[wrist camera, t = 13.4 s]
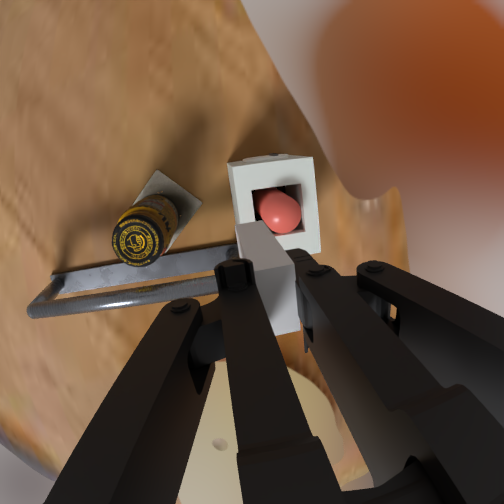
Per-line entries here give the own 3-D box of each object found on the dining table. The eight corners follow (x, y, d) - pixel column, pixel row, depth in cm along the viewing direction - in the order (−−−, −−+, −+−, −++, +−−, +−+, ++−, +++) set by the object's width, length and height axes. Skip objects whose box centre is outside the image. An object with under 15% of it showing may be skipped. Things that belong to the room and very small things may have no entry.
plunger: (250, 187, 38) (261, 198, 30) (279, 183, 39) (299, 193, 30) (254, 216, 40) (266, 235, 31) (282, 212, 40) (302, 230, 31)
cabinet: (226, 158, 40) (231, 160, 30) (288, 150, 40) (312, 151, 31) (238, 238, 43) (246, 265, 34) (297, 229, 44) (320, 252, 34)
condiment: (121, 222, 40) (91, 249, 29) (157, 169, 39) (136, 177, 28) (165, 253, 42) (150, 291, 31) (202, 202, 41) (200, 223, 30)
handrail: (57, 292, 42) (29, 325, 32) (51, 274, 41) (20, 304, 31) (241, 263, 44) (250, 295, 35) (238, 242, 43) (247, 269, 34)
